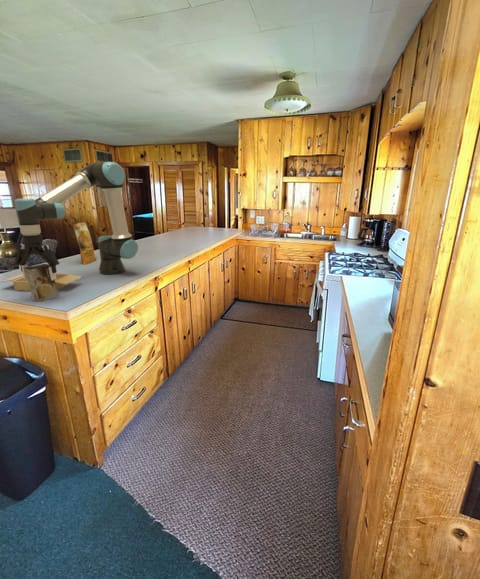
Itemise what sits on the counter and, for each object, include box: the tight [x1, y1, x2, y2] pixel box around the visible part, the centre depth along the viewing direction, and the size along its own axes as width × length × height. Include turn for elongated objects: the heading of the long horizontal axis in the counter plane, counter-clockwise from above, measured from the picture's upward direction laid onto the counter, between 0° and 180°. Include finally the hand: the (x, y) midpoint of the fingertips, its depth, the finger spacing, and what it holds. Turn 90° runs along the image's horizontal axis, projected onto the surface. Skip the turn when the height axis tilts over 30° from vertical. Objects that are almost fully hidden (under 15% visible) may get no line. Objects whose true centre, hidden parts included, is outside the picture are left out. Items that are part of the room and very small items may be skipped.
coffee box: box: [25, 263, 59, 302], centre depth 141 cm, size 9×6×16 cm
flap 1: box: [0, 273, 24, 283], centre depth 159 cm, size 1×14×7 cm
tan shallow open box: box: [12, 272, 71, 292], centre depth 159 cm, size 21×16×5 cm
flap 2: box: [55, 273, 83, 286], centre depth 157 cm, size 1×14×7 cm
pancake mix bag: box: [72, 221, 97, 265], centre depth 209 cm, size 7×19×28 cm, turn 176°
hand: (40, 279), depth 140 cm, fingers open, 13 cm apart
